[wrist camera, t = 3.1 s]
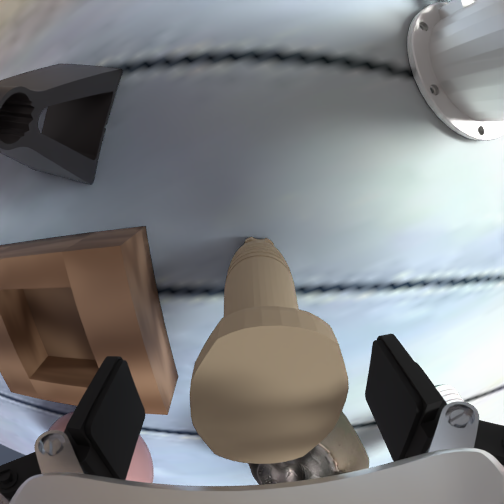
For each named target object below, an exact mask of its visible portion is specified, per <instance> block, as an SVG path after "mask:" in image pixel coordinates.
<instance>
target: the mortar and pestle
mask: <svg viewBox="0 0 504 504" xmlns="http://www.w3.org/2000/svg"><path fill="white" fill-rule="evenodd" d="M73 413H74V412H71V413H68V414H66V415H64V416H62V417H61V418H59V419H58V420H57V421H56V422H55V423H54V424H53V425H52V426H51V428H50V429H49V431H51V430H59V431H62V432H64V430H65V429H66V425H67V424H68V422H69V420H70V418H71V416H72V415H73ZM126 480H129V481H137V482H146V483H152V482H153V462H152V458H151V454H150V452H149V449H148V447H147V445H146V443H145V442H144V440H143V439H142V437H141V436H140V435H139V437H138V441H137V444H136V447H135V450H134V454H133V457H132V460H131V463H130V467H129V470H128V474H127V477H126Z"/></svg>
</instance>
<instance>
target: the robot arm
mask: <svg viewBox="0 0 504 504" xmlns="http://www.w3.org/2000/svg"><path fill="white" fill-rule="evenodd" d="M407 51H408V57H409V63H410V66H411V70H412V73H413V76H414V79H415V81H416V83H417V85H418V87H419V90H420V92H421V94H422V95H423V97H424V98H425V100H426V102H427V103H428V105H429V106H430V108H431V109H432V110H433V111H434V113H435V114H436V115H437V117H438V118H440V119H441V120H442V121H443V122H444V123H445V124H446V125H447V126H448V127H449V128H451V129H452V130H453V131H455V132H456V133H458V134H460V135H462V136H464V137H466V138H469V139H474V140H492V139H496V138H498V137H500V136H502V135H503V134H504V0H451V2H449V3H447V2H440V3H434V4H431V5H428V6H427V7H425V8H424V9H422V10H421V11H420V12H419V13H418V14H417V15H416V16H415V17H414V18H413V20H412V22H411V24H410V27H409V32H408V36H407ZM365 397H366V401H367V403H368V405H369V408H370V410H371V412H372V414H373V416H374V418H375V421H376V423H377V425H378V427H379V430H380V432H381V434H382V436H383V439H384V441H385V443H386V445H387V448H388V450H389V452H390V454H391V457H392V459H393V461H394V462H391V463H387V464H384V465H380V466H376V467H371V468H367V469H363V470H358V471H354V472H349V473H344V474H339V475H334V476H328V477H323V478H316V479H310V480H302V481H295V482H286V483H276V484H264V485H248V486H183V485H167V484H156V483H146V482H137V481H129V480H126V477H127V474H128V470H129V467H130V463H131V460H132V457H133V454H134V450H135V447H136V444H137V441H138V437H139V434H140V431H141V428H142V425H143V422H144V419H145V409H144V406H143V404H142V401H141V399H140V396H139V394H138V391H137V388H136V386H135V383H134V380H133V378H132V375H131V372H130V369H129V366H128V363H127V361H126V360H123V359H122V357H120V356H107V357H106V358H105V359H104V361H103V363H102V364H101V366H100V368H99V369H98V371H97V373H96V374H95V376H94V378H93V379H92V381H91V383H90V385H89V386H88V388H87V390H86V391H85V393H84V395H83V397H82V398H81V400H80V402H79V404H78V406H77V407H76V409H75V411H74V413H73V415H72V416H71V418H70V420H69V422H68V424H67V425H66V429H65V430H64V432H62V431H59V430H51V431H47V432H45V433H43V434H42V435H41V436H39V437H38V439H37V440H36V443H35V452H34V453H31V454H29V455H26V456H24V457H21V458H19V459H16V460H14V461H11V462H9V463H6V464H4V465H1V466H0V504H504V426H502V425H498V424H493V423H489V422H485V421H481V420H479V414H478V411H477V410H476V408H475V407H474V406H472V405H471V404H469V403H466V402H462V401H456V402H451V403H449V404H447V403H446V401H445V400H444V398H443V397H442V396H441V394H440V393H439V392H438V390H437V389H436V387H435V386H434V385H433V383H432V382H431V381H430V379H429V378H428V376H427V375H426V374H425V372H424V371H423V370H422V368H421V367H420V366H419V365H418V364H417V363H416V362H414V360H413V359H412V358H411V356H410V355H409V354H408V353H407V351H406V350H405V349H404V347H403V346H402V345H401V343H400V342H399V341H398V339H397V338H396V337H395V336H394V335H393V334H388V335H382V336H378V338H377V340H375V341H374V342H373V346H372V354H371V360H370V367H369V374H368V380H367V386H366V391H365Z"/></svg>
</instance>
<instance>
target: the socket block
mask: <svg viewBox="0 0 504 504" xmlns="http://www.w3.org/2000/svg"><path fill="white" fill-rule="evenodd" d="M107 356H120V357H122V359H123V360H126V361H127V363H128V366H129V369H130V372H131V375H132V378H133V380H134V383H135V386H136V388H137V391H138V394H139V396H140V399H141V401H142V404H143V406H144V409H145V414H162V415H168V412H169V408H170V404H171V401H172V397H173V393H174V390H175V386H176V383H177V379H178V374H177V370H176V367H175V363H174V359H173V355H172V351H171V347H170V344H169V340H168V335H167V331H166V327H165V323H164V319H163V314H162V310H161V305H160V301H159V296H158V291H157V286H156V282H155V277H154V271H153V266H152V261H151V255H150V250H149V244H148V238H147V232H146V226H142V227H133V228H125V229H116V230H108V231H99V232H91V233H83V234H76V235H68V236H61V237H53V238H46V239H39V240H32V241H26V242H19V243H12V244H6V245H0V372H1V374H2V376H3V378H4V380H5V382H6V384H7V385H8V387H9V389H10V391H11V392H13V393H17V394H21V395H25V396H30V397H34V398H39V399H43V400H48V401H53V402H58V403H64V404H70V405H76V406H78V404H79V402H80V400H81V398H82V397H83V395H84V393H85V391H86V390H87V388H88V386H89V385H90V383H91V381H92V379H93V378H94V376H95V374H96V373H97V371H98V369H99V368H100V366H101V364H102V363H103V361H104V359H105V358H106V357H107Z"/></svg>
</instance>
